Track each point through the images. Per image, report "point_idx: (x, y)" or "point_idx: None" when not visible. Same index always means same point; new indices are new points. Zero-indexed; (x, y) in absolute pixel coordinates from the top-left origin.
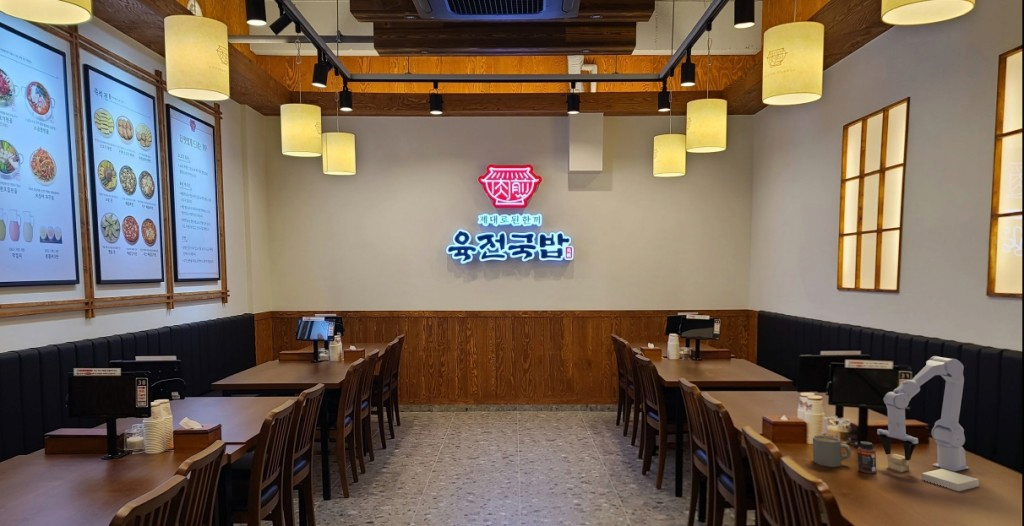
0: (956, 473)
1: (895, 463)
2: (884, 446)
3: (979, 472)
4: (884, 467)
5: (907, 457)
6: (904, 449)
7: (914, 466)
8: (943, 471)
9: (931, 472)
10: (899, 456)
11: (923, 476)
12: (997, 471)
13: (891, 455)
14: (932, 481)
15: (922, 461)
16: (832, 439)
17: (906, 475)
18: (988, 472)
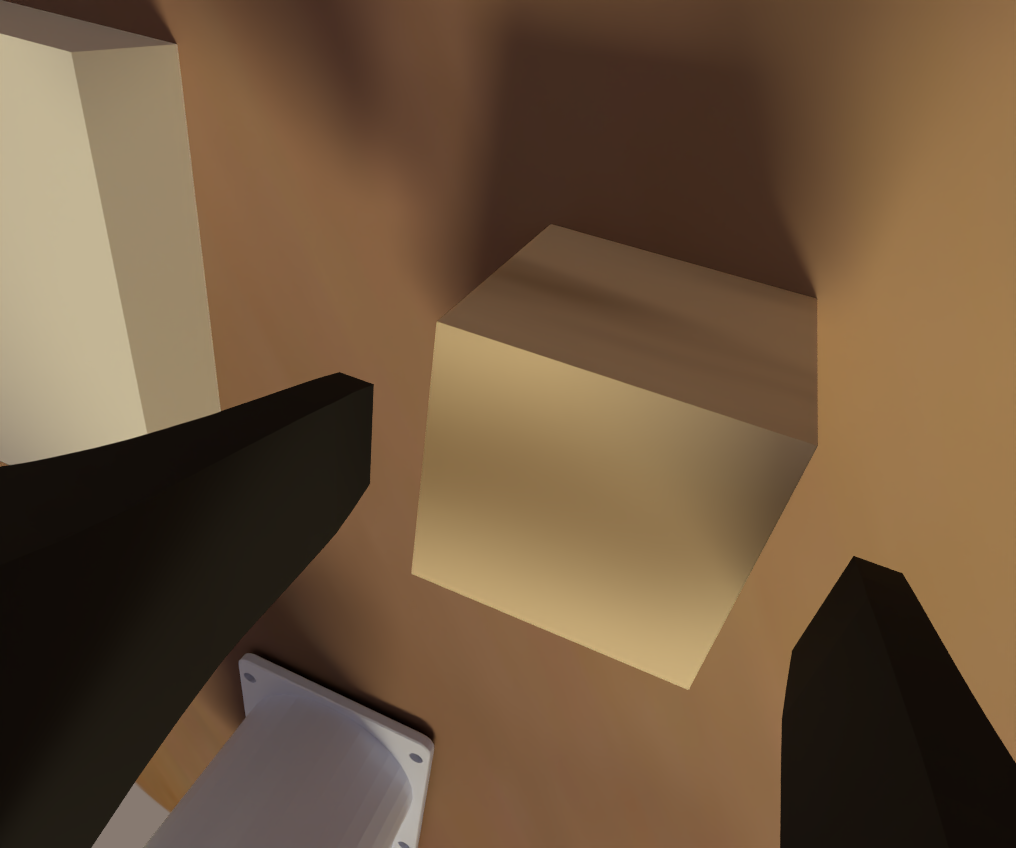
0: (11, 450)
1: (619, 307)
2: (970, 776)
3: (189, 720)
4: (889, 268)
5: (278, 403)
6: (117, 506)
7: (535, 629)
8: (87, 432)
9: (76, 253)
10: (555, 548)
11: (97, 41)
12: (173, 781)
13: (726, 524)
14: (18, 13)
15: (554, 820)
16: None
17: (404, 67)
18: (173, 743)
